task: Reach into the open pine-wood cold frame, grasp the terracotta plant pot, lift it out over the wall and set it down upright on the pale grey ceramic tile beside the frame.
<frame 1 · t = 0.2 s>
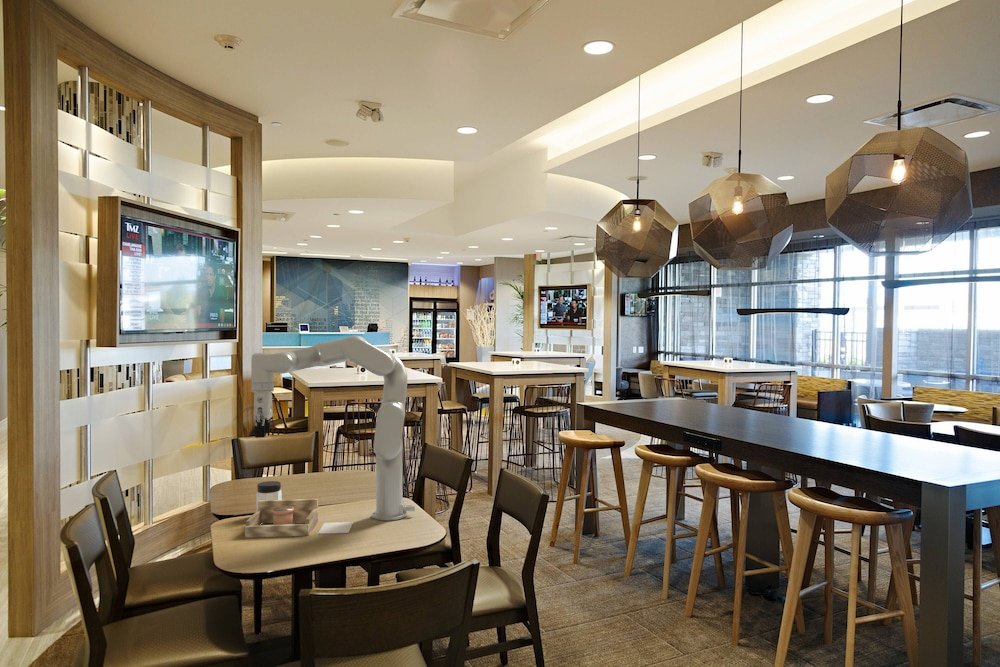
hand: (262, 435, 234), 31 cm above the table, fingers open, 9 cm apart
jar: (269, 516, 240), on the table
pot: (282, 518, 224), in the cold frame
cold frame: (283, 529, 224), on the table
tile: (336, 528, 224), on the table
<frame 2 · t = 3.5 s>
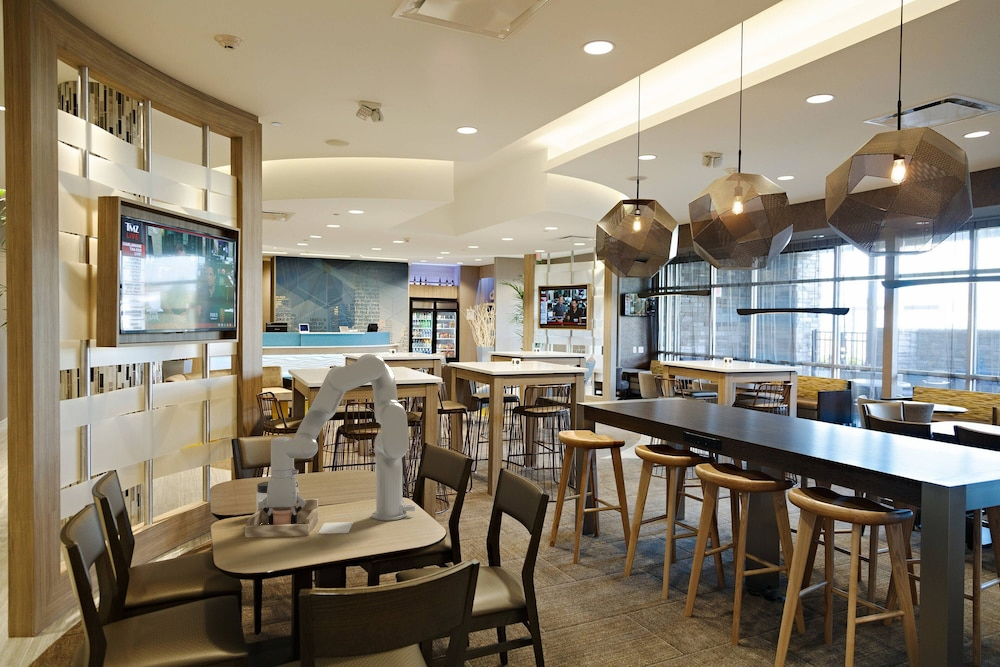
hand: (282, 525, 224), 1 cm above the table, fingers closed on pot, 6 cm apart
pot: (282, 518, 224), in the cold frame, touching gripper
everything else where it was.
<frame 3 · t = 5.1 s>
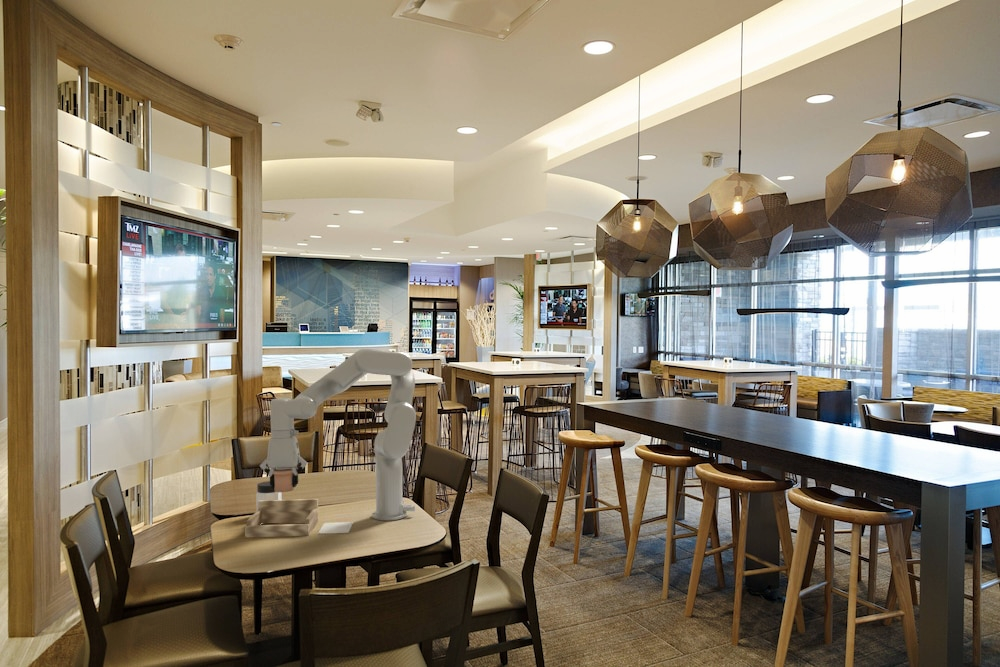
hand: (284, 486, 224), 15 cm above the table, fingers closed on pot, 6 cm apart
pot: (284, 479, 224), point 17 cm above the table, touching gripper
everything else where it was.
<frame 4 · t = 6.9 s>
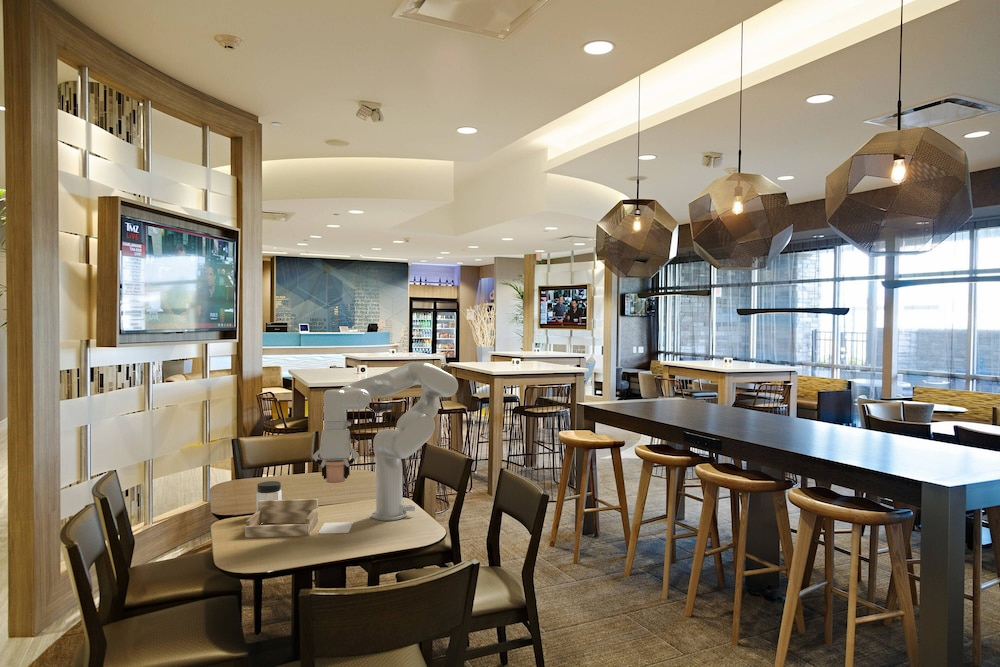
hand: (335, 477, 224), 17 cm above the table, fingers closed on pot, 6 cm apart
pot: (335, 470, 224), point 20 cm above the table, touching gripper
everything else where it was.
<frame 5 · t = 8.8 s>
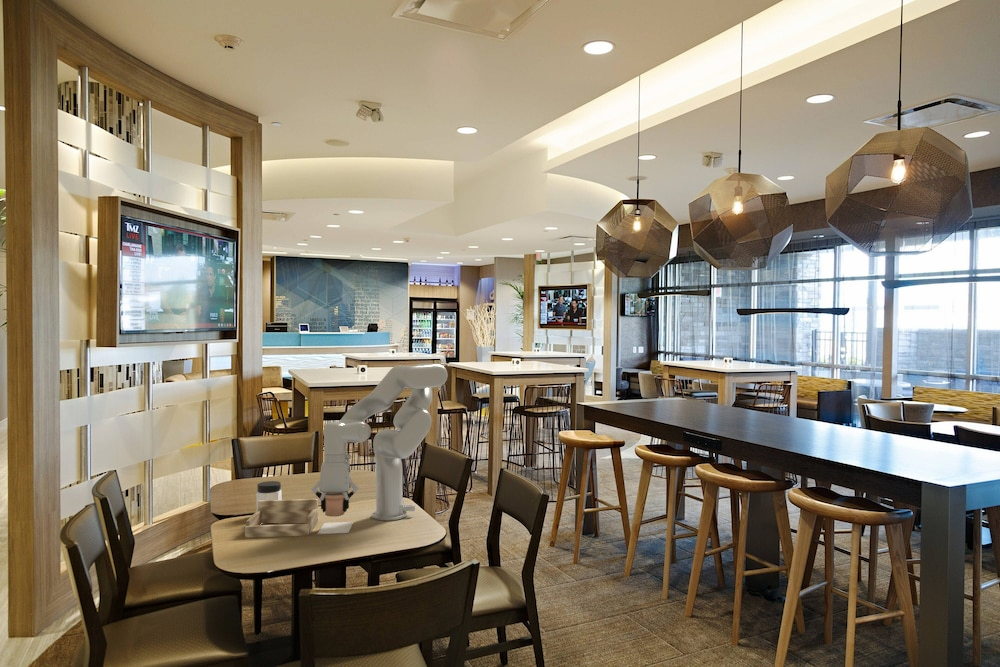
hand: (334, 510, 224), 6 cm above the table, fingers closed on pot, 6 cm apart
pot: (334, 503, 224), point 8 cm above the table, touching gripper
everything else where it was.
when the fingers open (3 cm above the table, at t = 10.4 s): pot drops 2 cm, resting on tile.
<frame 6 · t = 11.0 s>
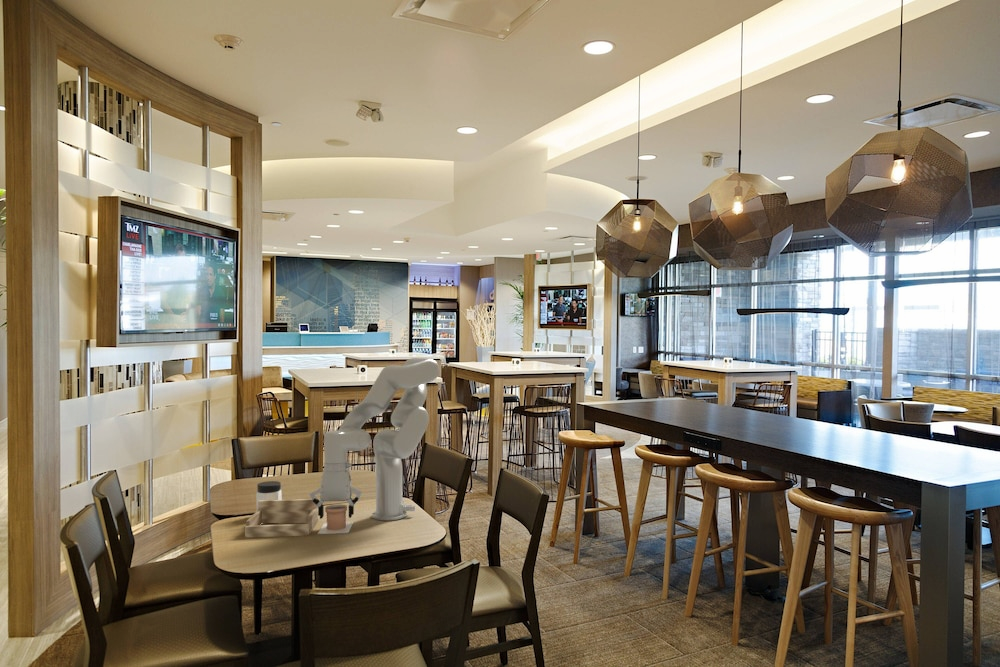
hand: (336, 517, 224), 4 cm above the table, fingers open, 9 cm apart
pot: (336, 517, 224), resting on tile
everything else where it was.
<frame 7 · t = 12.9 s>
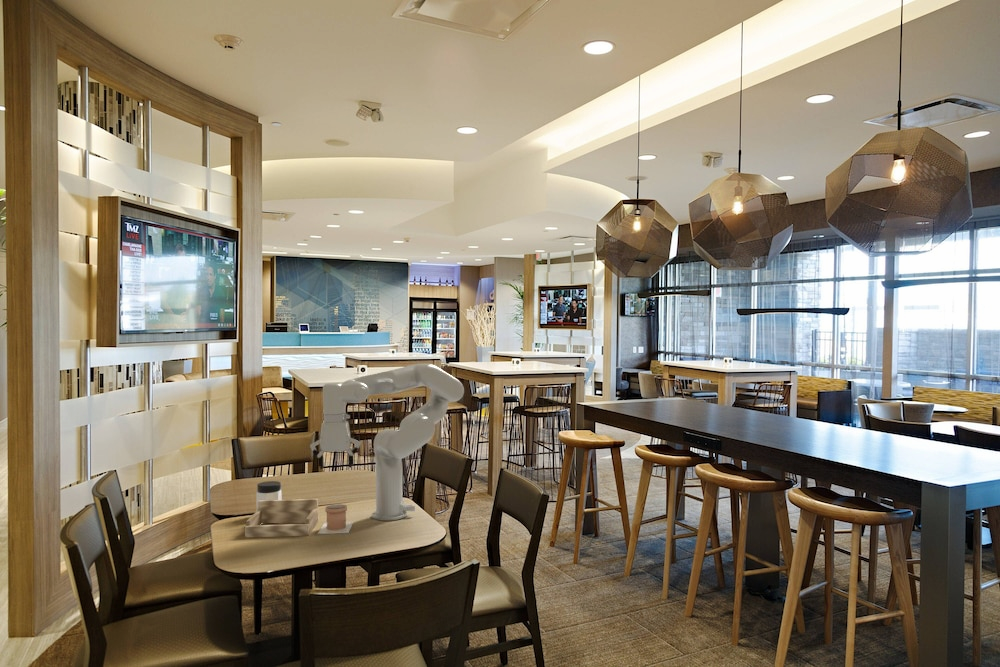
hand: (336, 467, 228), 20 cm above the table, fingers open, 9 cm apart
nothing on the table moved.
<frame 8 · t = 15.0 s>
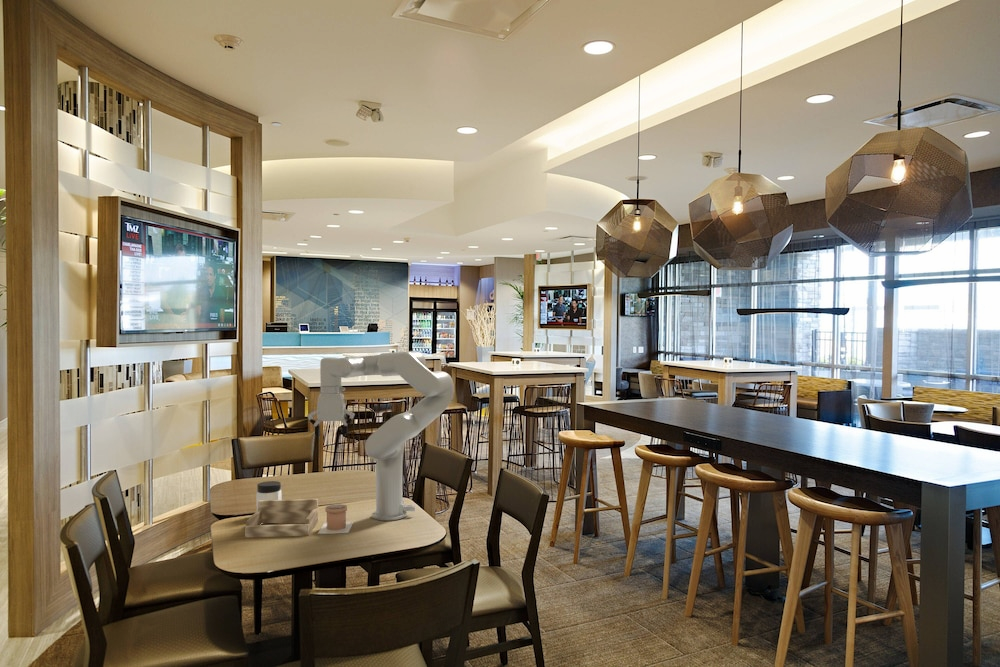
hand: (331, 436, 245), 28 cm above the table, fingers open, 9 cm apart
nothing on the table moved.
at the end: pot inside the target area (0.1 cm from its centre), resting on tile; pot tilted 0°; pot touching tile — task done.
